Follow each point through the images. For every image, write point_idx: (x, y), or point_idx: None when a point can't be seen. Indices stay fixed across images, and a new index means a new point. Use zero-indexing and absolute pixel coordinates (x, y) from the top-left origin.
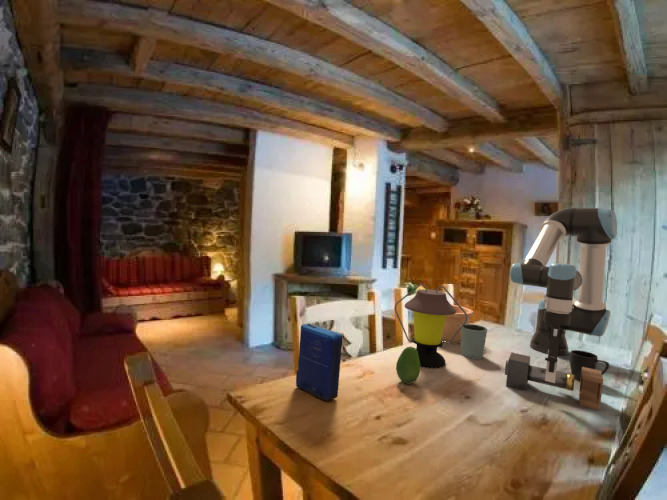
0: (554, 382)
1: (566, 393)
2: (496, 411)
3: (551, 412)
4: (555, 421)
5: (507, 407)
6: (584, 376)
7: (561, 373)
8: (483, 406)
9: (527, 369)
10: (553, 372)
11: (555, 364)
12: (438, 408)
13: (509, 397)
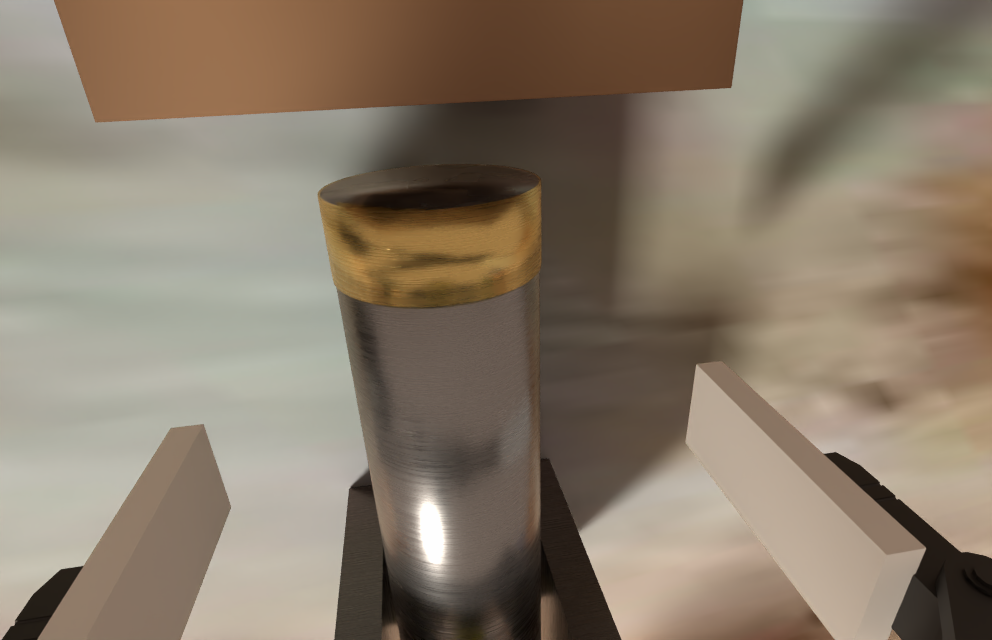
0: (723, 367)
1: None
2: (939, 487)
3: (831, 265)
4: (959, 227)
5: (870, 466)
6: (719, 65)
7: (486, 363)
8: None
9: (610, 615)
10: (841, 457)
11: (885, 532)
12: None
13: (722, 496)
